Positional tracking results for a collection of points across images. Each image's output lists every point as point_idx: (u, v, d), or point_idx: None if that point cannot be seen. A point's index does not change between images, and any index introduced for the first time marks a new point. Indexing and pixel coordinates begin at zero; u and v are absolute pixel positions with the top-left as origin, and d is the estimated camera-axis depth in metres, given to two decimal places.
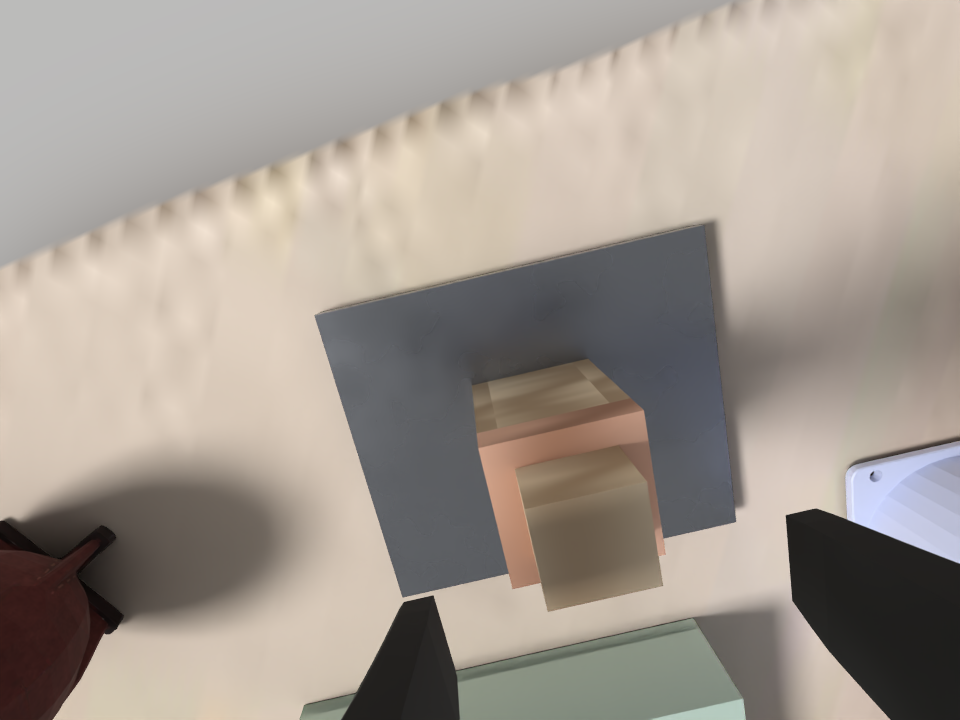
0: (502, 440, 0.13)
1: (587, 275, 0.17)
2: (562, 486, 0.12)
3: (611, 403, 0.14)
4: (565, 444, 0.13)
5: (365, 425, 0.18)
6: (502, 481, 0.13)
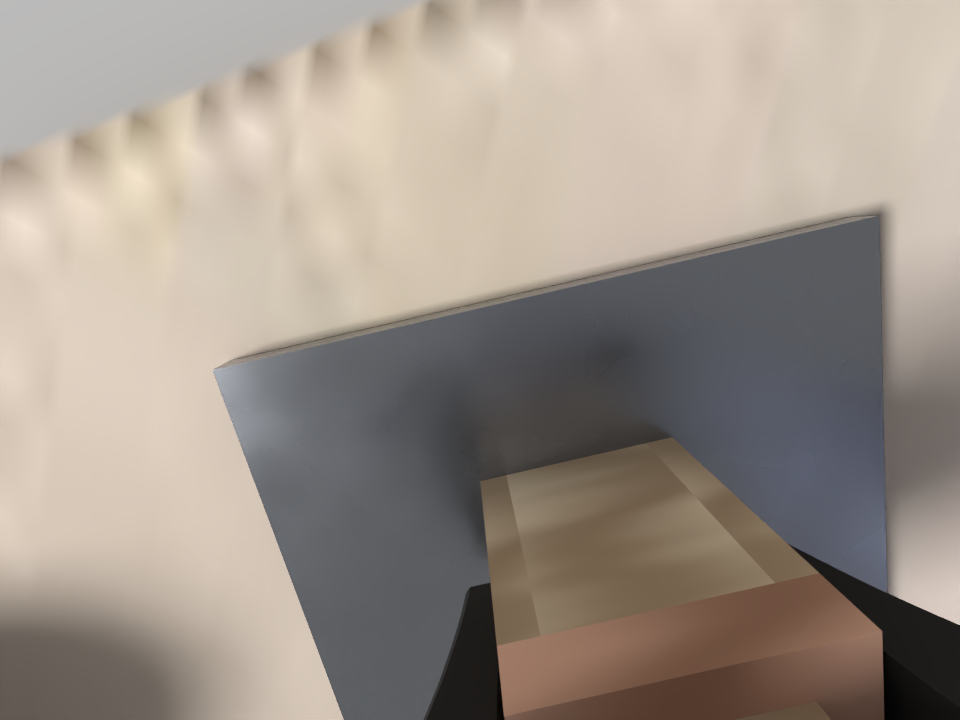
0: (557, 692, 0.06)
1: (677, 301, 0.10)
2: None
3: (781, 586, 0.06)
4: (700, 703, 0.06)
5: (305, 545, 0.11)
6: None
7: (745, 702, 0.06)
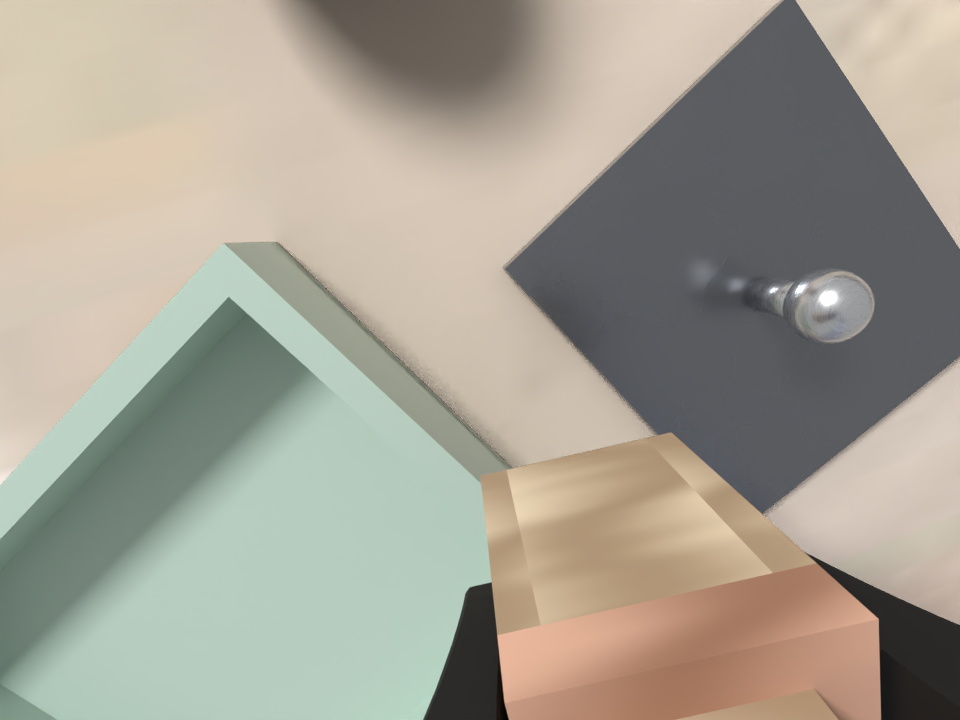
0: (558, 680, 0.06)
1: (927, 247, 0.17)
2: None
3: (778, 576, 0.07)
4: (698, 690, 0.06)
5: (690, 115, 0.16)
6: None
7: (743, 689, 0.06)
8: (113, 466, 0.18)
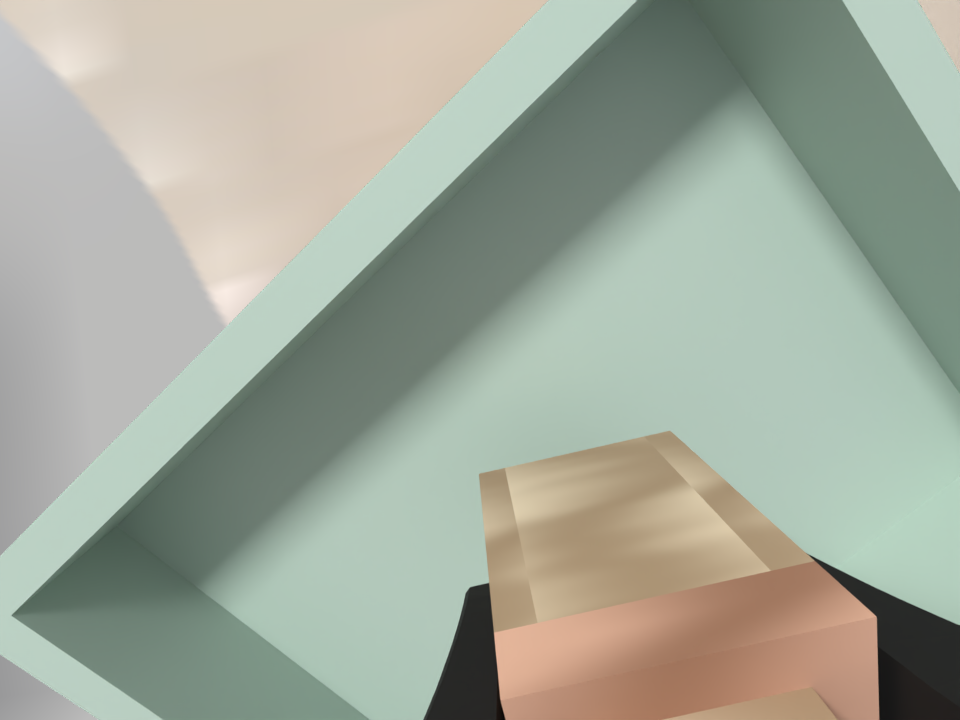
0: (554, 677, 0.06)
1: None
2: None
3: (776, 573, 0.07)
4: (695, 688, 0.06)
5: None
6: None
7: (740, 687, 0.06)
8: (400, 266, 0.13)
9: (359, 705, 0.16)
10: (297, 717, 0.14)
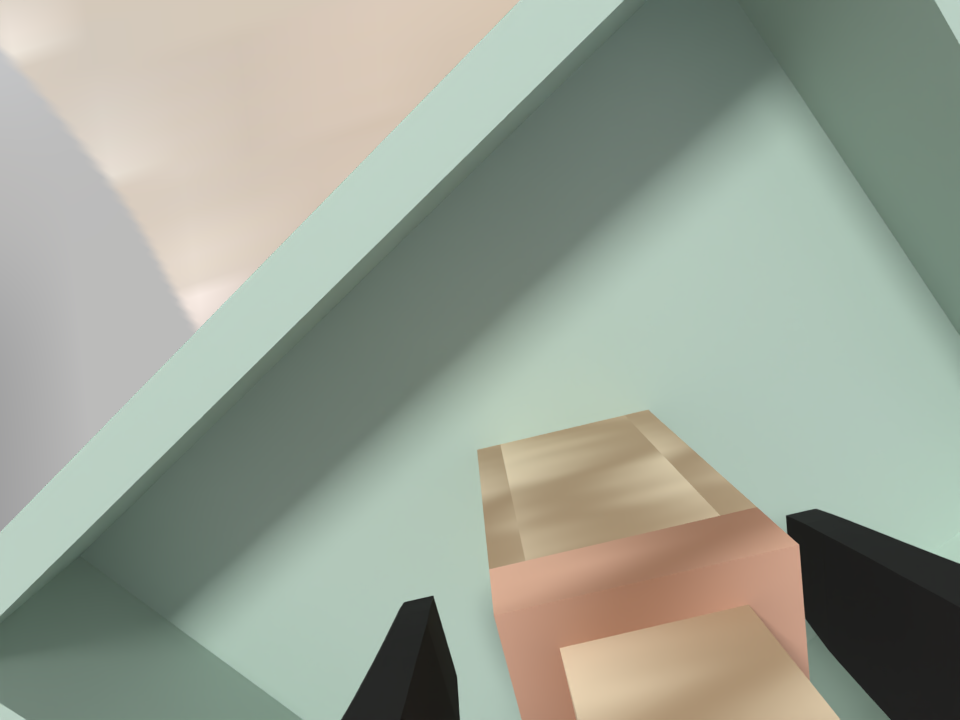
0: (537, 598, 0.07)
1: None
2: None
3: (724, 517, 0.08)
4: (653, 605, 0.07)
5: None
6: (537, 669, 0.07)
7: (690, 604, 0.07)
8: (392, 269, 0.11)
9: None
10: None
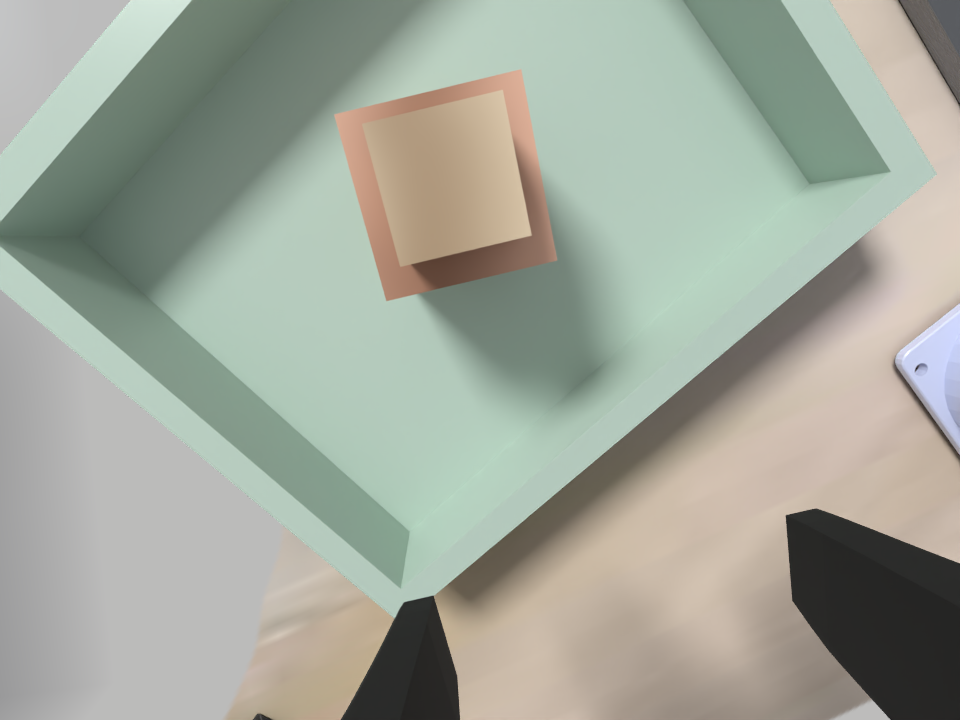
0: (363, 109, 0.11)
1: None
2: None
3: None
4: None
5: None
6: (365, 159, 0.12)
7: None
8: (305, 2, 0.16)
9: (286, 415, 0.19)
10: (228, 396, 0.17)
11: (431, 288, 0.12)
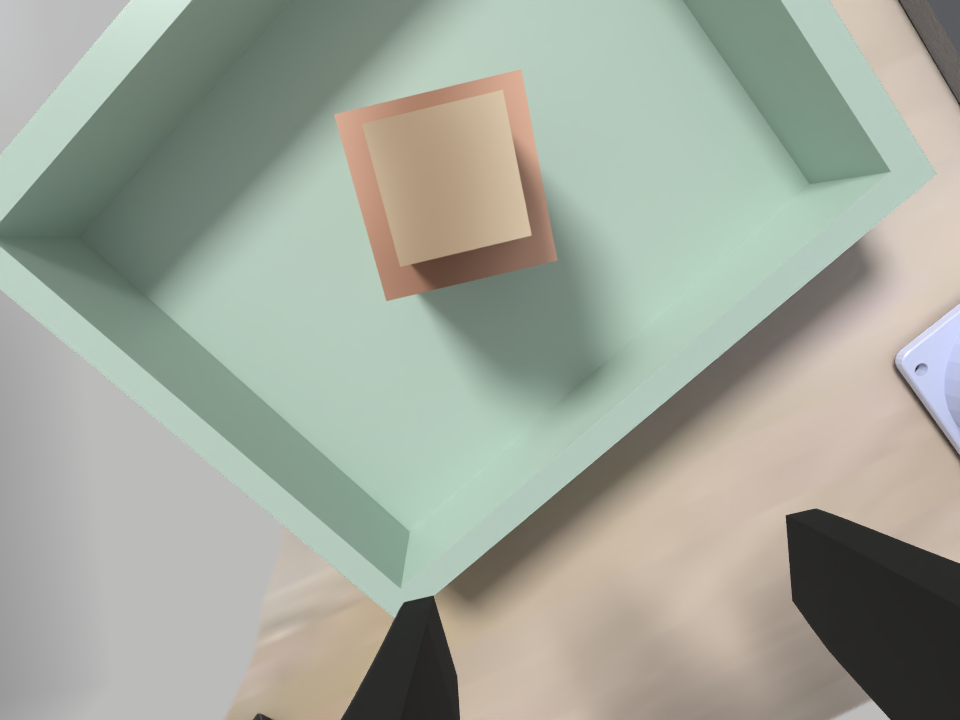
0: (363, 109, 0.11)
1: None
2: None
3: None
4: None
5: None
6: (365, 159, 0.12)
7: None
8: (305, 2, 0.16)
9: (286, 415, 0.19)
10: (228, 396, 0.17)
11: (431, 288, 0.12)
